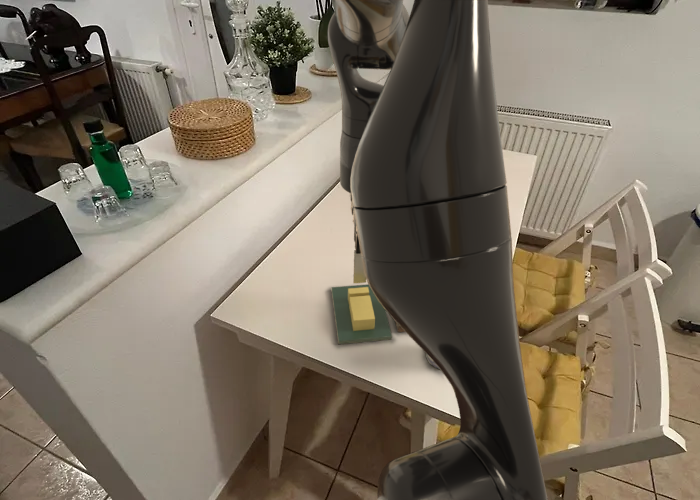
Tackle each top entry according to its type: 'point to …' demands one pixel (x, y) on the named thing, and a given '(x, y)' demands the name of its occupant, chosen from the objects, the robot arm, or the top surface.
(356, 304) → the butter
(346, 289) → the butter dish
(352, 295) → the butter slice
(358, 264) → the knife
